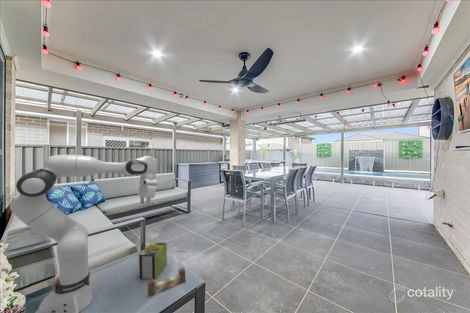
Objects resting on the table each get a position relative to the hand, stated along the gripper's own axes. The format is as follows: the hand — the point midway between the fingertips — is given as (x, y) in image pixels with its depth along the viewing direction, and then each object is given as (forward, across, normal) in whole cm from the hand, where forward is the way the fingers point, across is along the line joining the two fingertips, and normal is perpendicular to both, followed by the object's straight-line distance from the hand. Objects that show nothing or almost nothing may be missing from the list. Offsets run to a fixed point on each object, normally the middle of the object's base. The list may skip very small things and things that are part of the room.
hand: (144, 204), depth 109 cm
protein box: (+44, -8, +14) cm, 47 cm away
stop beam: (+46, +11, +15) cm, 49 cm away
